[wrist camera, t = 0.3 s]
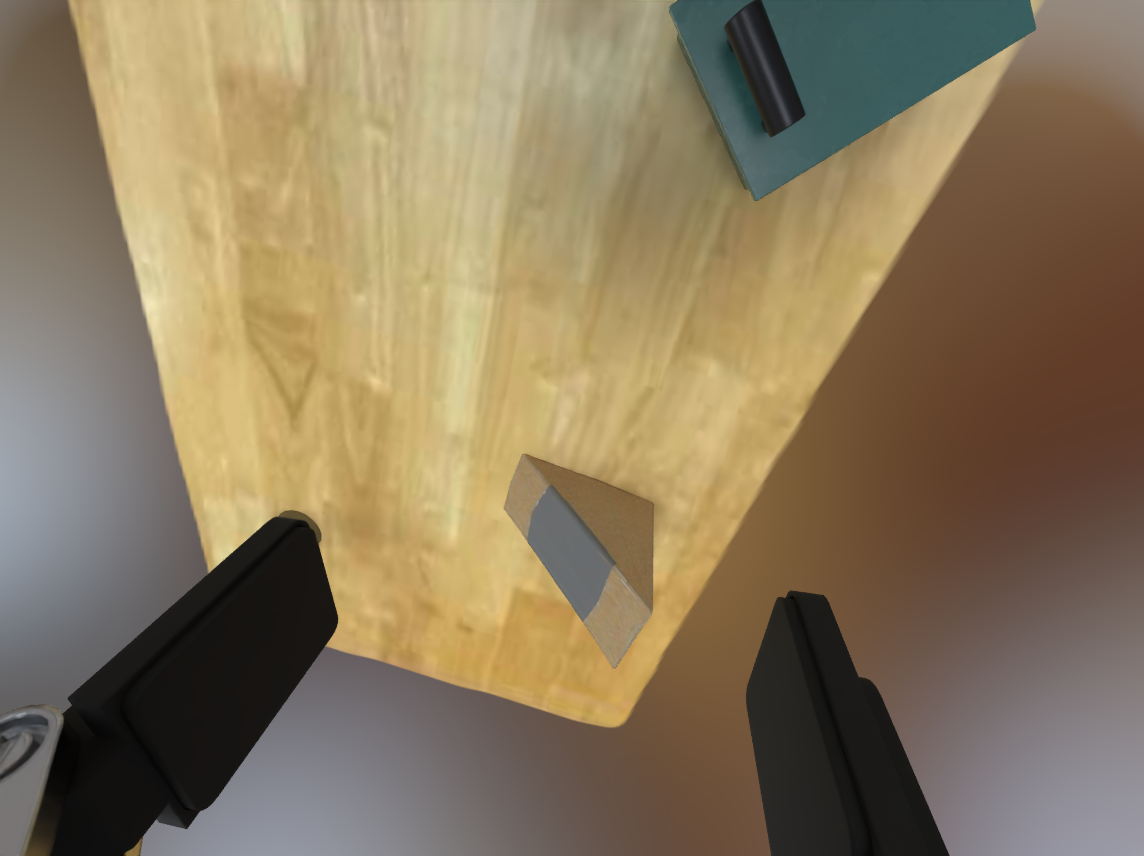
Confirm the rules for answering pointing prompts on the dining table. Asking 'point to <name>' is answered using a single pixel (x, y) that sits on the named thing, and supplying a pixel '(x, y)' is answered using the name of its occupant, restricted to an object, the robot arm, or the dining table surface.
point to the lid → (830, 68)
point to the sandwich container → (589, 547)
